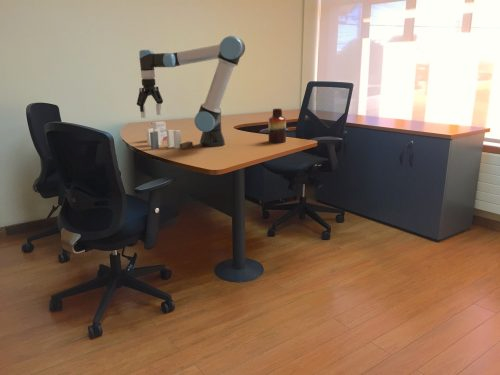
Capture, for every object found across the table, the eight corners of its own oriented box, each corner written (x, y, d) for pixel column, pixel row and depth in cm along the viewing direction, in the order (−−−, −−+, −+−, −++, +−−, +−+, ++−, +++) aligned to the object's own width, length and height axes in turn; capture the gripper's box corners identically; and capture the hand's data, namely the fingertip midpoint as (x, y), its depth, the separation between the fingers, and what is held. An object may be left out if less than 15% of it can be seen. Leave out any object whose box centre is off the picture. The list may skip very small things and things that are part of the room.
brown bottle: (270, 143, 260) (270, 110, 254) (267, 140, 270) (267, 108, 264) (287, 142, 262) (287, 109, 256) (283, 139, 272) (283, 107, 266)
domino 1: (154, 144, 263) (153, 128, 260) (149, 145, 259) (148, 129, 256) (152, 144, 264) (151, 128, 261) (147, 145, 259) (146, 129, 256)
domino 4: (174, 146, 257) (173, 129, 254) (169, 147, 252) (168, 130, 249) (172, 145, 257) (171, 129, 254) (167, 147, 253) (166, 130, 250)
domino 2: (161, 144, 261) (160, 128, 258) (156, 146, 256) (155, 129, 254) (159, 144, 261) (158, 128, 259) (154, 146, 257) (152, 129, 254)
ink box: (162, 139, 281) (161, 121, 278) (167, 139, 278) (166, 121, 274) (152, 141, 274) (150, 122, 271) (157, 141, 271) (155, 123, 268)
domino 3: (158, 148, 251) (157, 131, 248) (153, 149, 247) (152, 132, 244) (156, 147, 252) (155, 131, 249) (151, 149, 247) (149, 132, 244)
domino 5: (181, 146, 254) (180, 130, 252) (176, 148, 250) (175, 131, 247) (179, 146, 255) (178, 129, 252) (174, 147, 251) (173, 131, 248)
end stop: (192, 146, 253) (192, 141, 252) (184, 149, 246) (183, 144, 245) (188, 146, 255) (188, 141, 254) (179, 149, 247) (179, 144, 246)
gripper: (157, 77, 251) (160, 113, 257) (127, 79, 230) (131, 118, 236) (167, 77, 248) (169, 114, 254) (138, 79, 227) (142, 119, 233)
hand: (151, 116), depth 245 cm, fingers open, 13 cm apart
